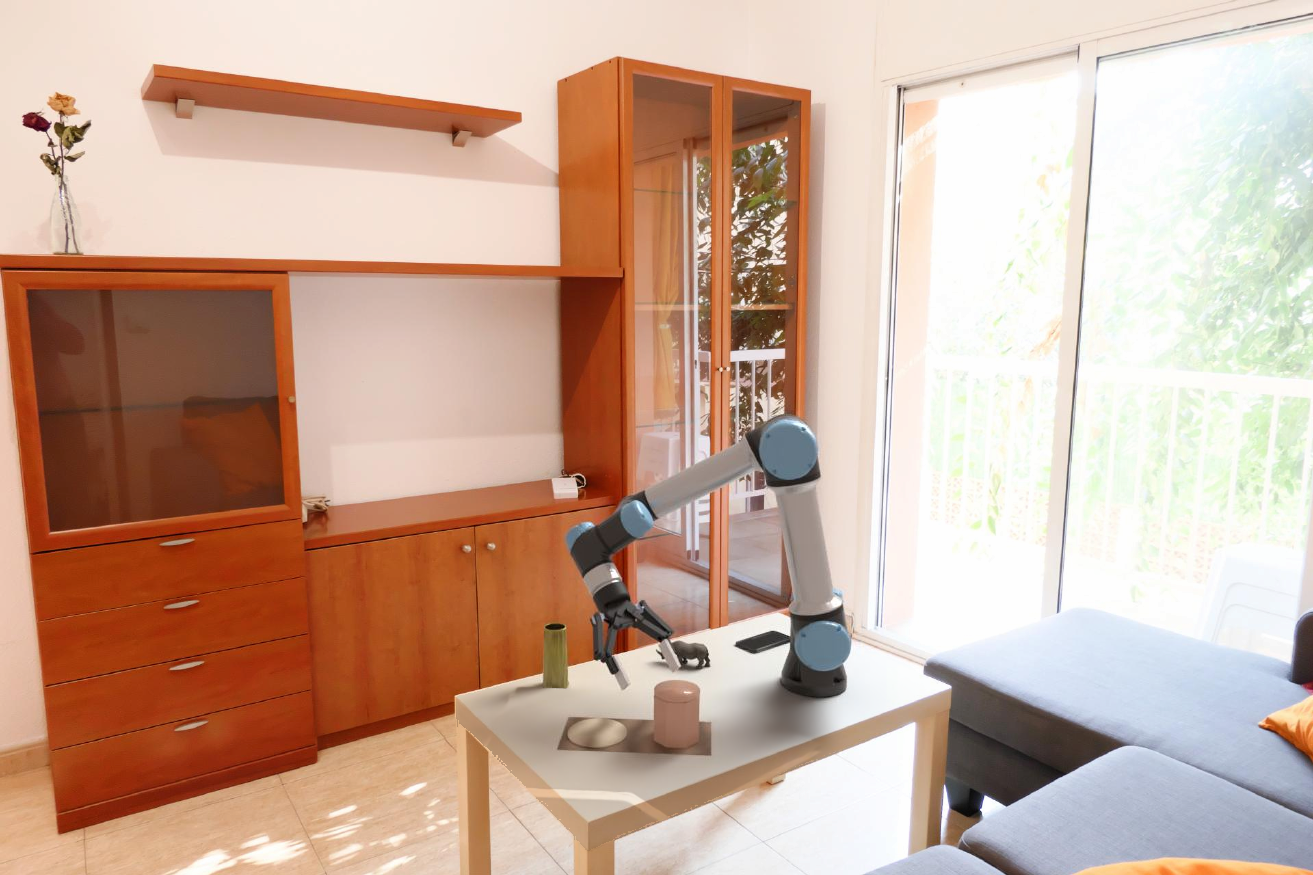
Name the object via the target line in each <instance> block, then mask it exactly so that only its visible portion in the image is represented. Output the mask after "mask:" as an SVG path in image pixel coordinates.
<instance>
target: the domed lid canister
mask: <svg viewBox="0 0 1313 875" xmlns="http://www.w3.org/2000/svg"><path fill="white" fill-rule="evenodd" d="M700 697H701V687H700V686H699V685H697V684H696V683H693V682H692V681H688V680H682V679H670V680H664V681H661V682H659V683H657V684H656V685H655V686H654V688H653V720H654V741H656V742H657V743H659V744H661V745H663V746H665V747H671V748H686V747H689V746H691V745H693V744H695V743H698V742H699V722H700V700H701V699H700Z"/></svg>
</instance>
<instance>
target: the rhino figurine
mask: <svg viewBox="0 0 1313 875" xmlns="http://www.w3.org/2000/svg"><path fill="white" fill-rule="evenodd" d="M671 643H672V645H673V647H674V649H675V655H676V657H677V659H678V661H679V663H680V665H681V667H683V666H684V665H683V664H688V662H689V661H688V660H691V661H693V660H695V659H697V661H698V663H697V665H696V666H695V669H696V670H702V669H703V668H704V667H706V668H710V667H711V663H710V662H711V659H710V657H709V656H710V653H709V649H708V648H707V646H706V645H705V644H704V643H698V642H693V643H692V642H691V643H690V642H689V643H688V642H685V641H683V640H675V641H673V642H672V641H671ZM655 651H656V653H657V654H658V655H659V656H660V657H661V660H665V658H664V656H663V654H662V652H661V651H660V650H658V649H655ZM703 665H704V667H703Z"/></svg>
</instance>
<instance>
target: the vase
mask: <svg viewBox="0 0 1313 875" xmlns="http://www.w3.org/2000/svg"><path fill="white" fill-rule="evenodd" d="M542 655H543V656H542V658H543V663H542V665H543V666H542V684H541V686H542V687H543V689H567V688H569V684H570V682H569V668H568V667H569V666H568V647H567V625H566V624H564V622H563V623H562V622H550V623H545V625H543V654H542Z"/></svg>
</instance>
